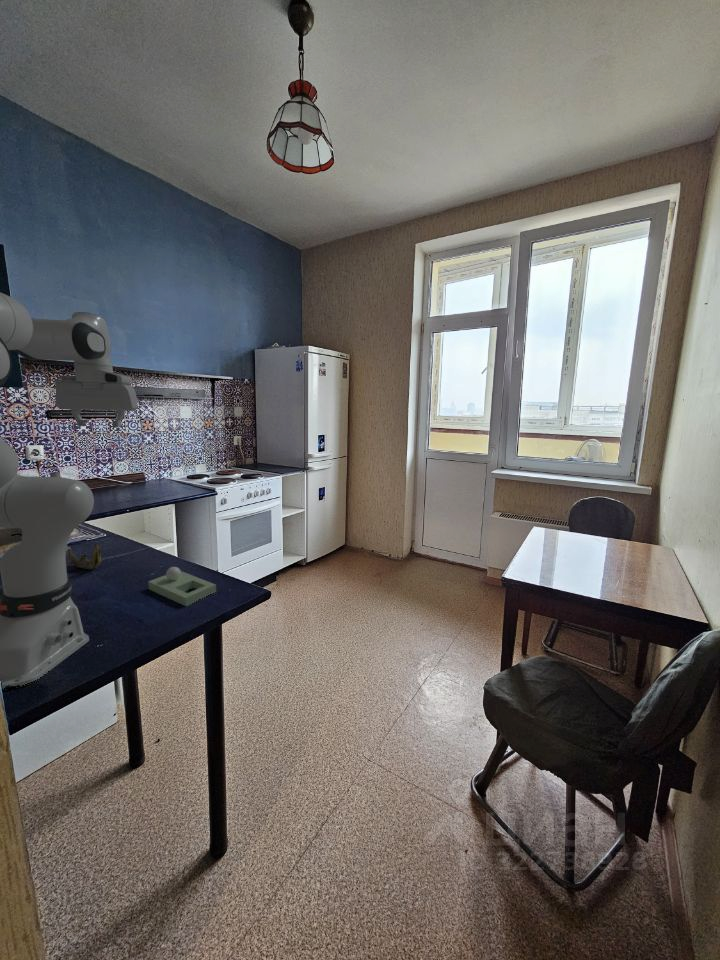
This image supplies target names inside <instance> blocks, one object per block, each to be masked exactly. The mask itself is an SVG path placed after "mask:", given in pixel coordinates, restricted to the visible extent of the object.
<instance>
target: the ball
mask: <svg viewBox="0 0 720 960" xmlns="http://www.w3.org/2000/svg"><path fill="white" fill-rule="evenodd" d="M181 571H182V570H181V569H180V568H179V567H177V566H171V567H169V568H168V569H167V570H166V572H165V575H166V577H167V578H168V579H169V580H176V579H178V578H179V577H180V574H181Z"/></svg>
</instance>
